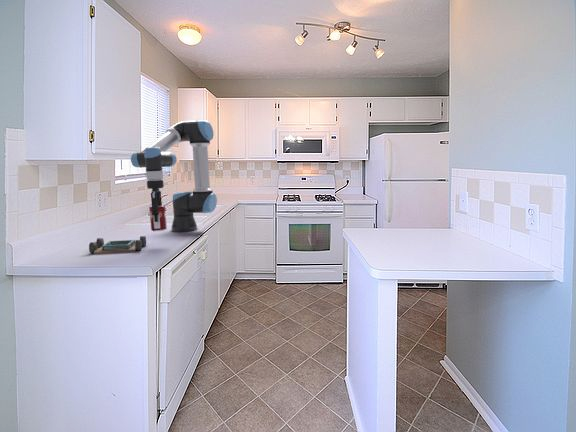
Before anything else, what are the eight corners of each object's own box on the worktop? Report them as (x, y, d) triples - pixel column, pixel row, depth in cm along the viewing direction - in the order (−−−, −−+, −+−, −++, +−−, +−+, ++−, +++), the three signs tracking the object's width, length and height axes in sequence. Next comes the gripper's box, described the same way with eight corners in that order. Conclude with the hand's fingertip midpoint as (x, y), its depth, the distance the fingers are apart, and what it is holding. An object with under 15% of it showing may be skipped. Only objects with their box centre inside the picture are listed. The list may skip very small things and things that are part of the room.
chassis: (100, 247, 194) (99, 237, 193) (146, 244, 197) (146, 235, 196) (89, 254, 178) (88, 243, 177) (139, 251, 181) (138, 241, 181)
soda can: (159, 228, 197) (157, 204, 196) (169, 229, 194) (168, 205, 192) (147, 230, 191) (145, 206, 190) (158, 232, 188) (156, 207, 186)
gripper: (150, 179, 198) (154, 223, 202) (142, 181, 178) (146, 231, 182) (166, 178, 199) (169, 223, 203) (159, 180, 180) (163, 230, 183)
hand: (158, 226), depth 192 cm, fingers closed on soda can, 7 cm apart
